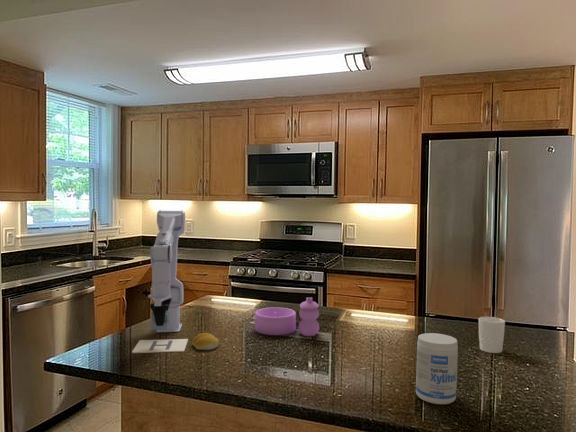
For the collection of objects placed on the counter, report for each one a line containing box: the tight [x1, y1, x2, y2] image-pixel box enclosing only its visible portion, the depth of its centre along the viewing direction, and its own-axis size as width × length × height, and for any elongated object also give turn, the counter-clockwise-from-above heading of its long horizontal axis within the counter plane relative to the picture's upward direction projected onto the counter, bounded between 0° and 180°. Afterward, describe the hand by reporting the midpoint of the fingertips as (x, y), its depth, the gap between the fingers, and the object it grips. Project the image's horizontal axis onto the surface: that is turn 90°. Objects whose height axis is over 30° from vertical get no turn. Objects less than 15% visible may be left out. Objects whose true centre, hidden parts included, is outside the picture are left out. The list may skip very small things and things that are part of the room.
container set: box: [254, 297, 320, 337], centre depth 165 cm, size 25×15×13 cm, turn 65°
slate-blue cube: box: [150, 311, 170, 331], centre depth 146 cm, size 5×5×5 cm
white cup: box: [478, 316, 506, 354], centre depth 146 cm, size 8×8×10 cm
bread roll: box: [192, 332, 220, 351], centre depth 147 cm, size 8×9×4 cm
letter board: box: [131, 338, 189, 354], centre depth 146 cm, size 12×16×1 cm
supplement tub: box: [415, 332, 459, 405], centre depth 110 cm, size 10×10×15 cm
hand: (161, 323), depth 146 cm, fingers closed on slate-blue cube, 5 cm apart
